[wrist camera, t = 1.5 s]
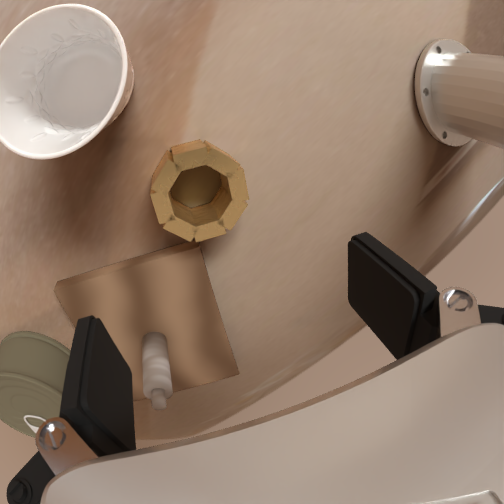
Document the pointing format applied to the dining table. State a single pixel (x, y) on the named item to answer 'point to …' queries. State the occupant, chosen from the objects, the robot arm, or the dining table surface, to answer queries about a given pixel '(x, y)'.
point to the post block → (157, 319)
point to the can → (31, 380)
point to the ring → (208, 215)
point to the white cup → (61, 80)
